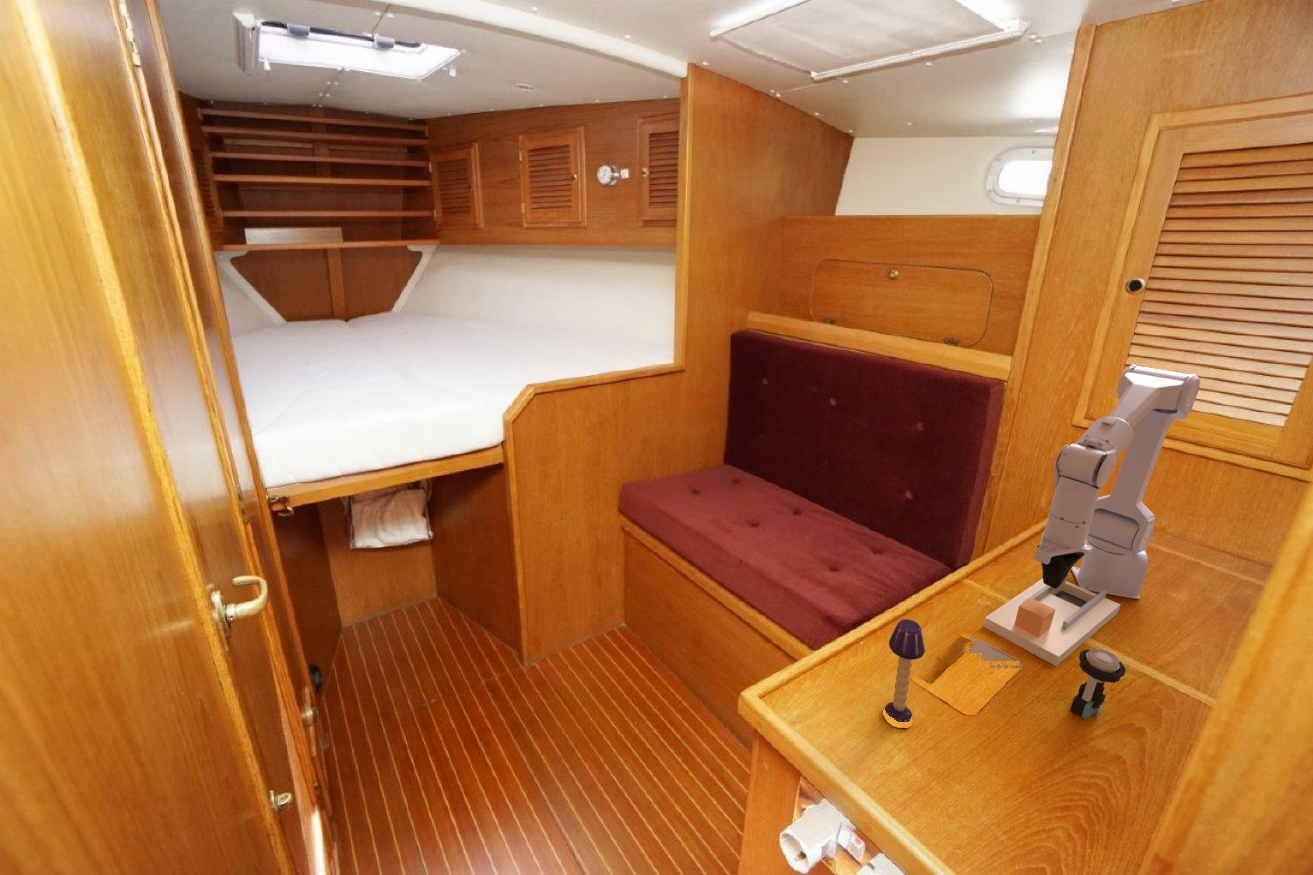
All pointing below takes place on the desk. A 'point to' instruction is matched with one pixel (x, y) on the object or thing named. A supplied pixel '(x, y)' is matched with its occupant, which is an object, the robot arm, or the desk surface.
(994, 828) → the desk surface
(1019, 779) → the desk surface
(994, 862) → the desk surface
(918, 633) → the toy lamp
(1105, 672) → the push button
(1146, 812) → the desk surface
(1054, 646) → the trough
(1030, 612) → the block
